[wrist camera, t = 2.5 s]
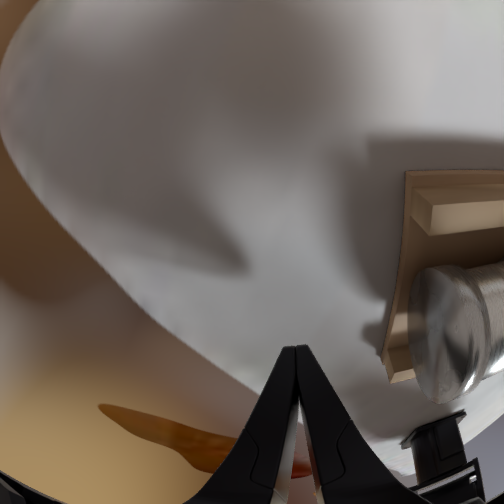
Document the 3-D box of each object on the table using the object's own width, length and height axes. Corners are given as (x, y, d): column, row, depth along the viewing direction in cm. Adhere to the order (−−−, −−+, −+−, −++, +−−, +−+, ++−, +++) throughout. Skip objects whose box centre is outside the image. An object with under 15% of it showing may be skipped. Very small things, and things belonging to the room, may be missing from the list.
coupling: (490, 309, 11) (529, 379, 6) (399, 333, 11) (430, 424, 7) (517, 227, 8) (582, 295, 4) (418, 240, 9) (487, 344, 5)
